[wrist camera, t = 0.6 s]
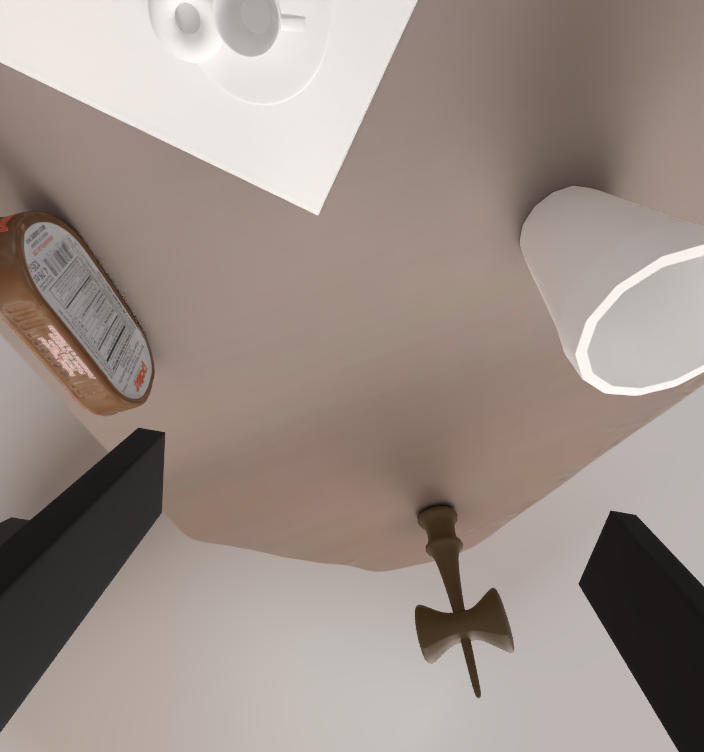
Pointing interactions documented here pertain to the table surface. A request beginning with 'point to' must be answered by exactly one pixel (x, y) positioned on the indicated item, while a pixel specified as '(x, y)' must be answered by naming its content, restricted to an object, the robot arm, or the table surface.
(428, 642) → the kendama
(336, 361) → the table surface
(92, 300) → the tin
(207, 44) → the teacup and saucer
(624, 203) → the foam cup
